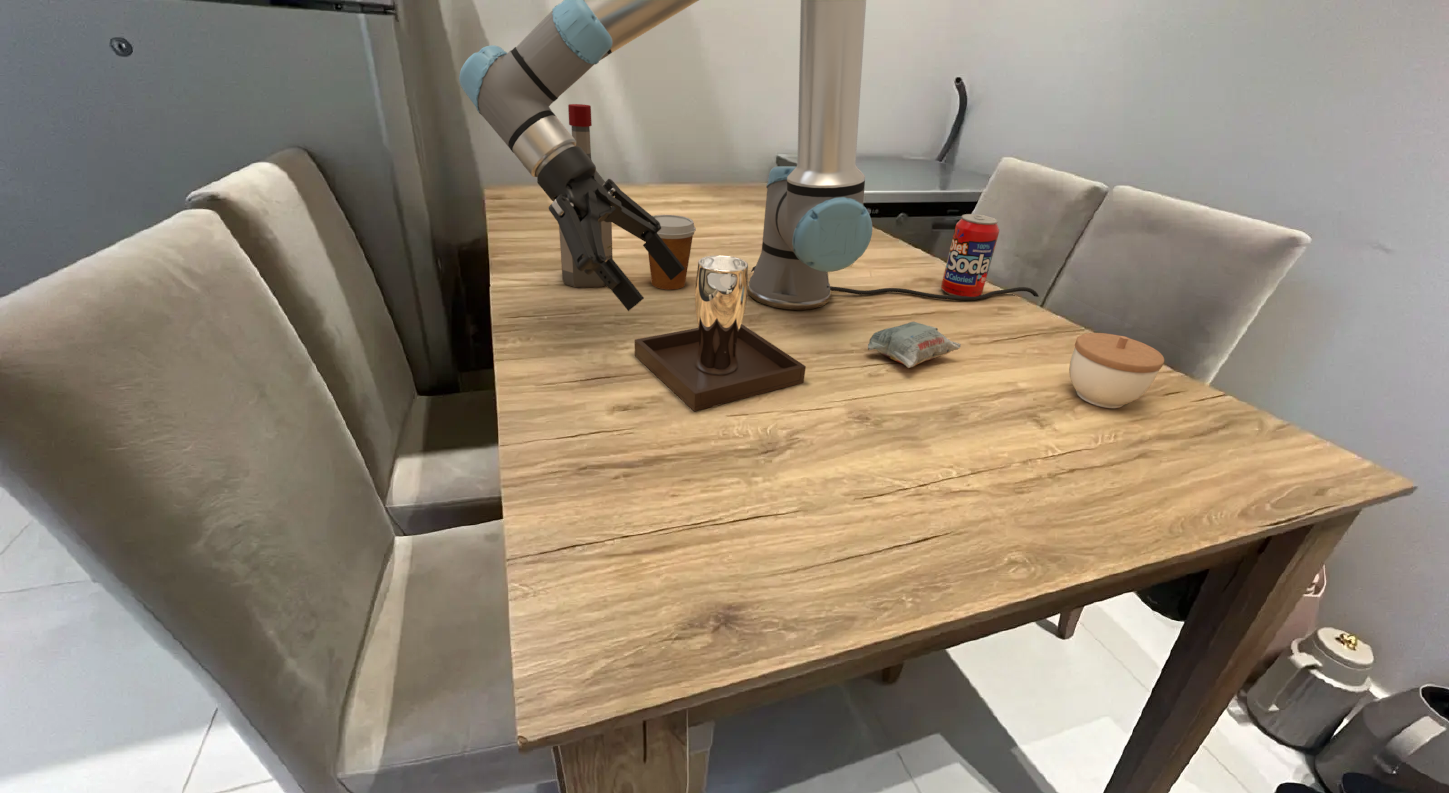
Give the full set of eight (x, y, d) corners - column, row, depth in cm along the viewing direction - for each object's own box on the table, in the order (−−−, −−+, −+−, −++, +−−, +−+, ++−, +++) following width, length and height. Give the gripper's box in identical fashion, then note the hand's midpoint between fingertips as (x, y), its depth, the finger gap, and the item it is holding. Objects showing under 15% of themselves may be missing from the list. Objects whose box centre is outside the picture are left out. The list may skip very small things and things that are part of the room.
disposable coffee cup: (686, 295, 114) (688, 230, 108) (636, 289, 116) (635, 223, 110) (698, 279, 123) (701, 217, 117) (651, 273, 124) (652, 211, 118)
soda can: (977, 289, 127) (997, 215, 120) (984, 303, 121) (1006, 225, 113) (937, 285, 128) (955, 211, 121) (942, 298, 122) (961, 220, 114)
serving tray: (735, 335, 100) (736, 320, 99) (803, 382, 88) (806, 366, 86) (634, 355, 92) (634, 339, 90) (694, 411, 79) (695, 393, 78)
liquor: (563, 288, 114) (551, 107, 99) (562, 272, 121) (550, 101, 106) (614, 287, 116) (609, 109, 101) (610, 271, 123) (605, 103, 109)
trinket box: (1155, 422, 84) (1184, 359, 79) (1071, 410, 85) (1095, 348, 81) (1125, 385, 93) (1150, 327, 89) (1050, 375, 95) (1071, 317, 90)
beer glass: (683, 369, 88) (687, 265, 80) (703, 350, 93) (709, 251, 86) (730, 380, 86) (738, 274, 78) (747, 360, 91) (756, 260, 84)
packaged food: (956, 361, 97) (964, 331, 95) (906, 379, 91) (913, 347, 88) (911, 340, 103) (917, 312, 101) (862, 356, 97) (867, 326, 94)
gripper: (588, 167, 96) (676, 277, 99) (481, 197, 75) (596, 335, 79) (618, 133, 92) (709, 250, 95) (514, 155, 71) (634, 303, 75)
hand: (658, 288), depth 87 cm, fingers open, 13 cm apart
